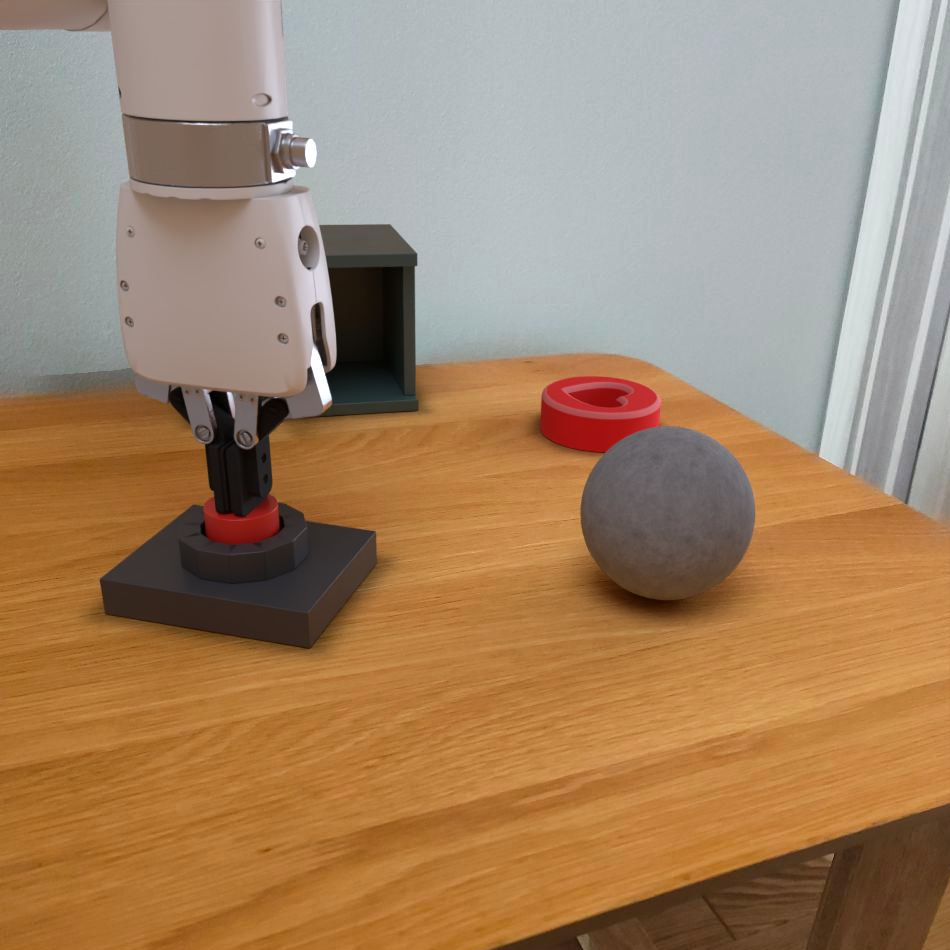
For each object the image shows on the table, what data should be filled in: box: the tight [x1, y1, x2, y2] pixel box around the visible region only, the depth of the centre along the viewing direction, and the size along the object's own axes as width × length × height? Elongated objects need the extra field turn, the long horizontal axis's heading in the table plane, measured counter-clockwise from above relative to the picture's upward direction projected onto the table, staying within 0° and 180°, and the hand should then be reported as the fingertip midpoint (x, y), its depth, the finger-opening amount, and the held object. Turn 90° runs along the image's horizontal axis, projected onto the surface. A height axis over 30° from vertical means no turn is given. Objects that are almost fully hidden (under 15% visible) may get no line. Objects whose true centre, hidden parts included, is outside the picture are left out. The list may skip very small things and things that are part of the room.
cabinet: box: [235, 223, 419, 418], centre depth 88 cm, size 18×12×13 cm, turn 107°
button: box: [203, 493, 280, 545], centre depth 59 cm, size 4×4×2 cm
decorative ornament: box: [539, 375, 662, 453], centre depth 86 cm, size 10×10×3 cm
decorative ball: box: [579, 425, 756, 601], centre depth 61 cm, size 10×10×10 cm
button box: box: [99, 501, 378, 649], centre depth 60 cm, size 12×10×4 cm
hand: (243, 504), depth 59 cm, fingers closed
